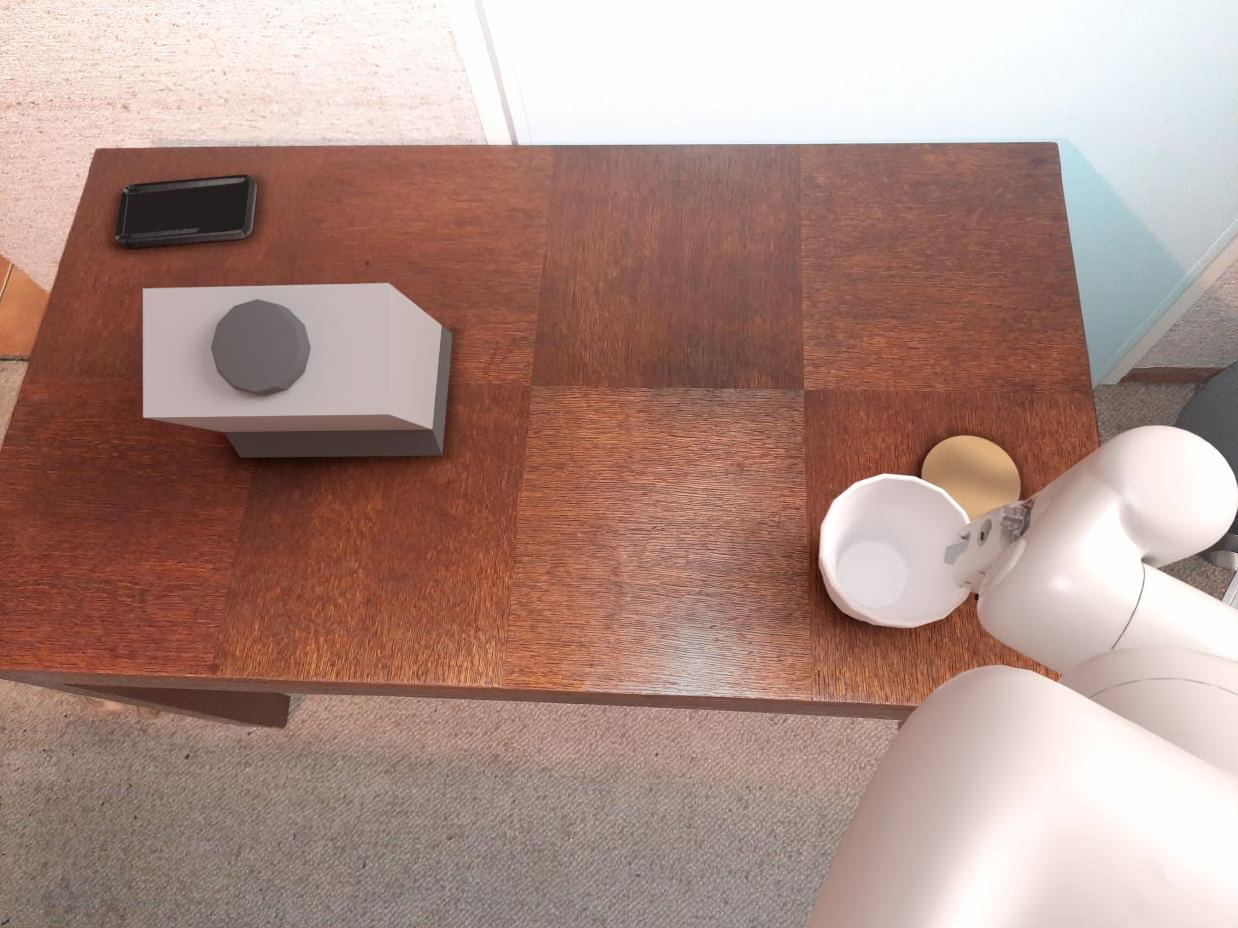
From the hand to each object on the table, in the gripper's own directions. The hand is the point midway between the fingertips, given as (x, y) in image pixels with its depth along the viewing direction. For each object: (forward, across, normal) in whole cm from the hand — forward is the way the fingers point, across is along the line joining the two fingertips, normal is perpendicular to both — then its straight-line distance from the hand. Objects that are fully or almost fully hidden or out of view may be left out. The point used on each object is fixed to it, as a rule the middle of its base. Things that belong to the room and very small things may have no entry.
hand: (986, 584), depth 75 cm
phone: (+2, -89, +21) cm, 91 cm away
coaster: (+3, -2, +10) cm, 11 cm away
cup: (+3, -9, -1) cm, 10 cm away
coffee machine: (+2, -63, +3) cm, 63 cm away
